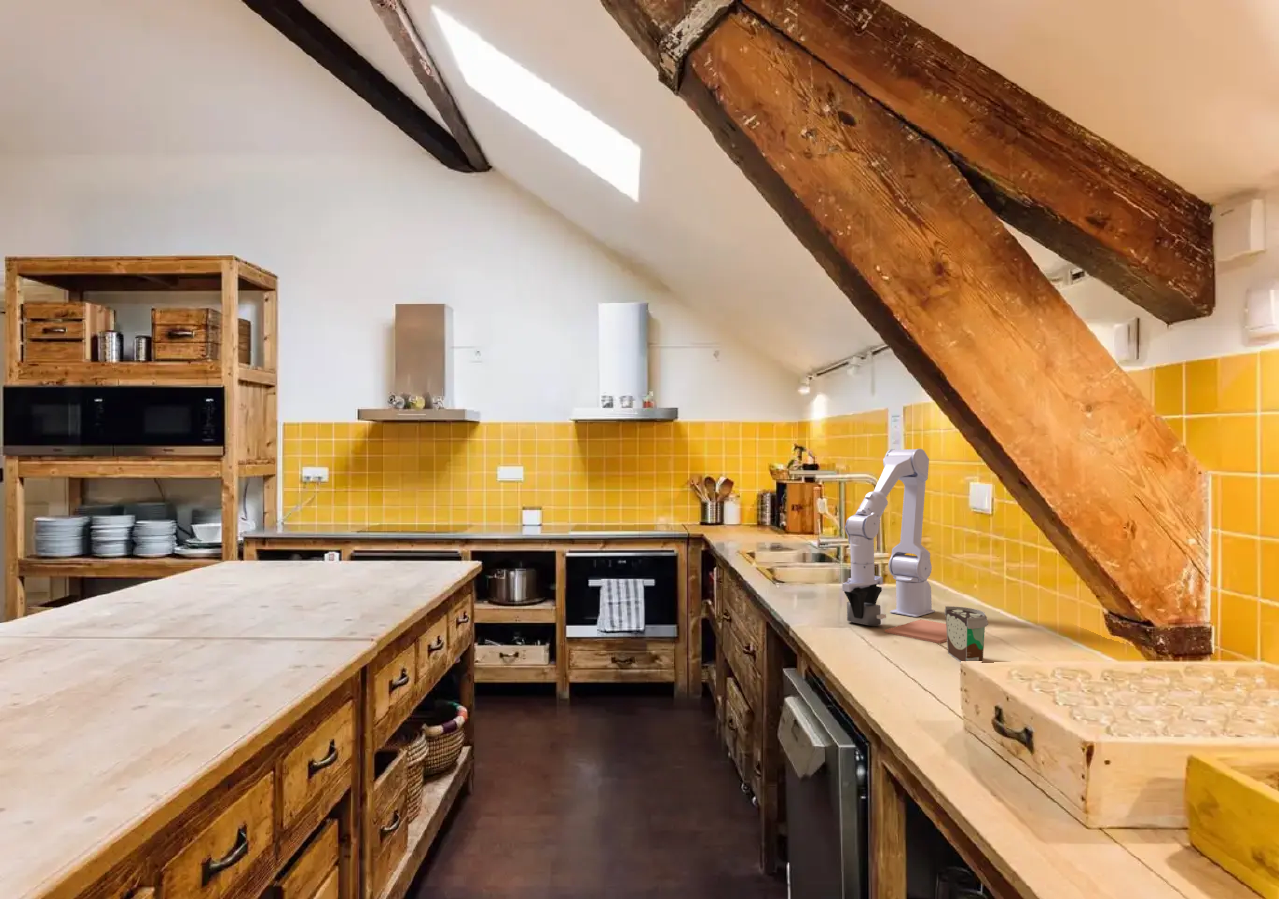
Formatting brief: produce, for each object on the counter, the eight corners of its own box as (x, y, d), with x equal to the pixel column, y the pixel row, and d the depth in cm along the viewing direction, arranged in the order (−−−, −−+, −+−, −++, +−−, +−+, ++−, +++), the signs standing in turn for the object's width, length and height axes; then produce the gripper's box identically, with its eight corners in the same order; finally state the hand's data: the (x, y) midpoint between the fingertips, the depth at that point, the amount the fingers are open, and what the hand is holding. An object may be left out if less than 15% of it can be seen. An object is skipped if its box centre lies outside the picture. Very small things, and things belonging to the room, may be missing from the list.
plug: (853, 617, 192) (852, 600, 192) (888, 624, 184) (887, 606, 184) (844, 620, 189) (843, 602, 189) (879, 627, 181) (878, 609, 181)
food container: (1000, 668, 149) (999, 618, 149) (969, 668, 149) (968, 618, 149) (973, 651, 161) (972, 605, 161) (945, 651, 161) (944, 605, 161)
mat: (920, 621, 189) (920, 619, 189) (974, 631, 178) (974, 629, 178) (884, 632, 179) (884, 629, 179) (939, 643, 168) (939, 640, 168)
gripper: (865, 557, 195) (866, 609, 195) (831, 564, 185) (832, 618, 185) (889, 560, 189) (890, 613, 189) (855, 567, 180) (856, 623, 180)
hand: (863, 616), depth 187 cm, fingers closed on plug, 4 cm apart
